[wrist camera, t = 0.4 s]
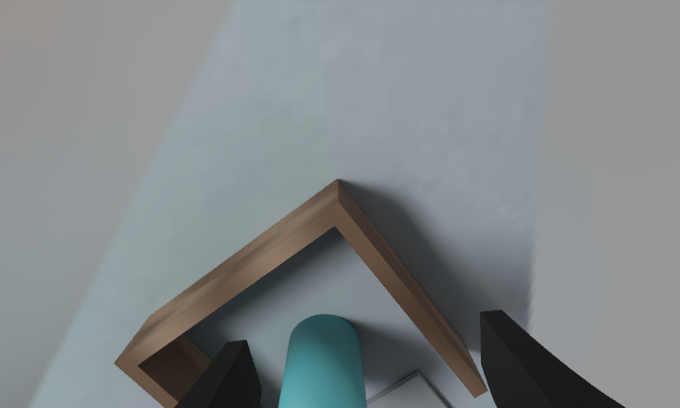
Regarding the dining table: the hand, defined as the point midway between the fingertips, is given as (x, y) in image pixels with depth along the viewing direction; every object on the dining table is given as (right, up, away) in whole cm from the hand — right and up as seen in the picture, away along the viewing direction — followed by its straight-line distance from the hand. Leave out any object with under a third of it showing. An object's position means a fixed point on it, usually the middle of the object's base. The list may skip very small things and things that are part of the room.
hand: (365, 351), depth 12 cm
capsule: (-2, -4, +12) cm, 13 cm away
